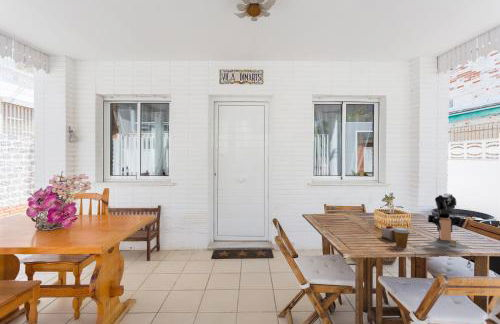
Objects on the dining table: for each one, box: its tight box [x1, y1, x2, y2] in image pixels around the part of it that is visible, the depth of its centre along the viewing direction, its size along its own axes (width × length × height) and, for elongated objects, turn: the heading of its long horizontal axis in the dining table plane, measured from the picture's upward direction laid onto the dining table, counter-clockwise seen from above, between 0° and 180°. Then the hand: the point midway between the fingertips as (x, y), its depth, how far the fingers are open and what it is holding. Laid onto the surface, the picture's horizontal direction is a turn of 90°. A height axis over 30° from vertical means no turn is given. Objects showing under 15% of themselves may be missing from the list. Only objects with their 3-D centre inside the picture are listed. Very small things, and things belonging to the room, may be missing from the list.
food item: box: [380, 225, 396, 242], centre depth 219 cm, size 14×8×10 cm, turn 12°
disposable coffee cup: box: [393, 226, 410, 248], centre depth 201 cm, size 10×10×12 cm
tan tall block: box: [438, 217, 452, 241], centre depth 199 cm, size 6×6×14 cm
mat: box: [424, 240, 472, 250], centre depth 202 cm, size 22×17×1 cm
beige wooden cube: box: [450, 238, 457, 246], centre depth 200 cm, size 3×3×4 cm
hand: (445, 229), depth 198 cm, fingers closed on tan tall block, 6 cm apart
